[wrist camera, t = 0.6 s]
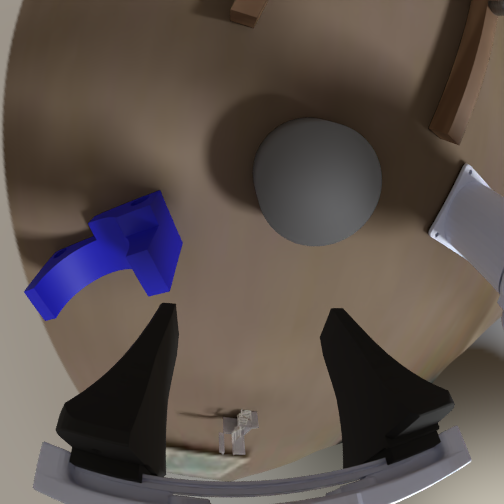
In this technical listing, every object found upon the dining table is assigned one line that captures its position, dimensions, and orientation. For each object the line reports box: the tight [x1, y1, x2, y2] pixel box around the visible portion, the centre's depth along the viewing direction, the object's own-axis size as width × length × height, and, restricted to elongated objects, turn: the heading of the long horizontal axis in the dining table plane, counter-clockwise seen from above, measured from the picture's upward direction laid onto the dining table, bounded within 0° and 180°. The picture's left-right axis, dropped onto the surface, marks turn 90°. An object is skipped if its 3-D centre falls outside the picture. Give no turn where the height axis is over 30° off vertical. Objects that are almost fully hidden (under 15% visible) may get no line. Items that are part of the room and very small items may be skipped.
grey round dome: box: [253, 118, 382, 246], centre depth 17 cm, size 8×8×4 cm
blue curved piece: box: [24, 190, 183, 321], centre depth 18 cm, size 12×4×6 cm, turn 105°
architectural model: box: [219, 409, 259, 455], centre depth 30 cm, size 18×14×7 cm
